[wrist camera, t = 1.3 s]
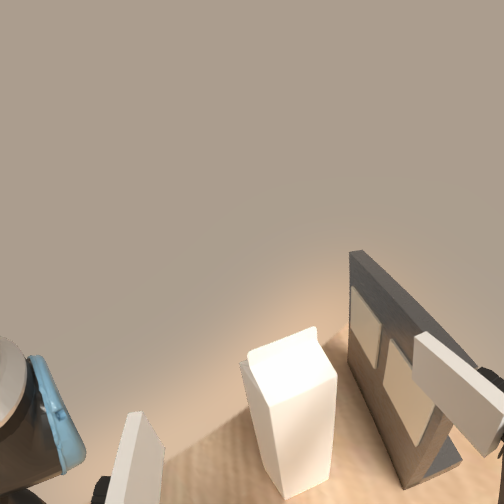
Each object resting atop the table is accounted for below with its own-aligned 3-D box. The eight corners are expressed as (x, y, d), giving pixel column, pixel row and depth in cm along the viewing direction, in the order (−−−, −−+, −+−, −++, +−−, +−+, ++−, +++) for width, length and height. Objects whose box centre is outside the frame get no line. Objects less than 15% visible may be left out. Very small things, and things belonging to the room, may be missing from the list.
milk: (329, 479, 28) (341, 343, 21) (283, 501, 26) (264, 377, 19) (304, 447, 34) (298, 308, 26) (262, 466, 32) (232, 332, 24)
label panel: (401, 490, 24) (455, 376, 17) (345, 362, 48) (347, 252, 41) (458, 465, 24) (523, 343, 17) (389, 351, 48) (398, 243, 41)
